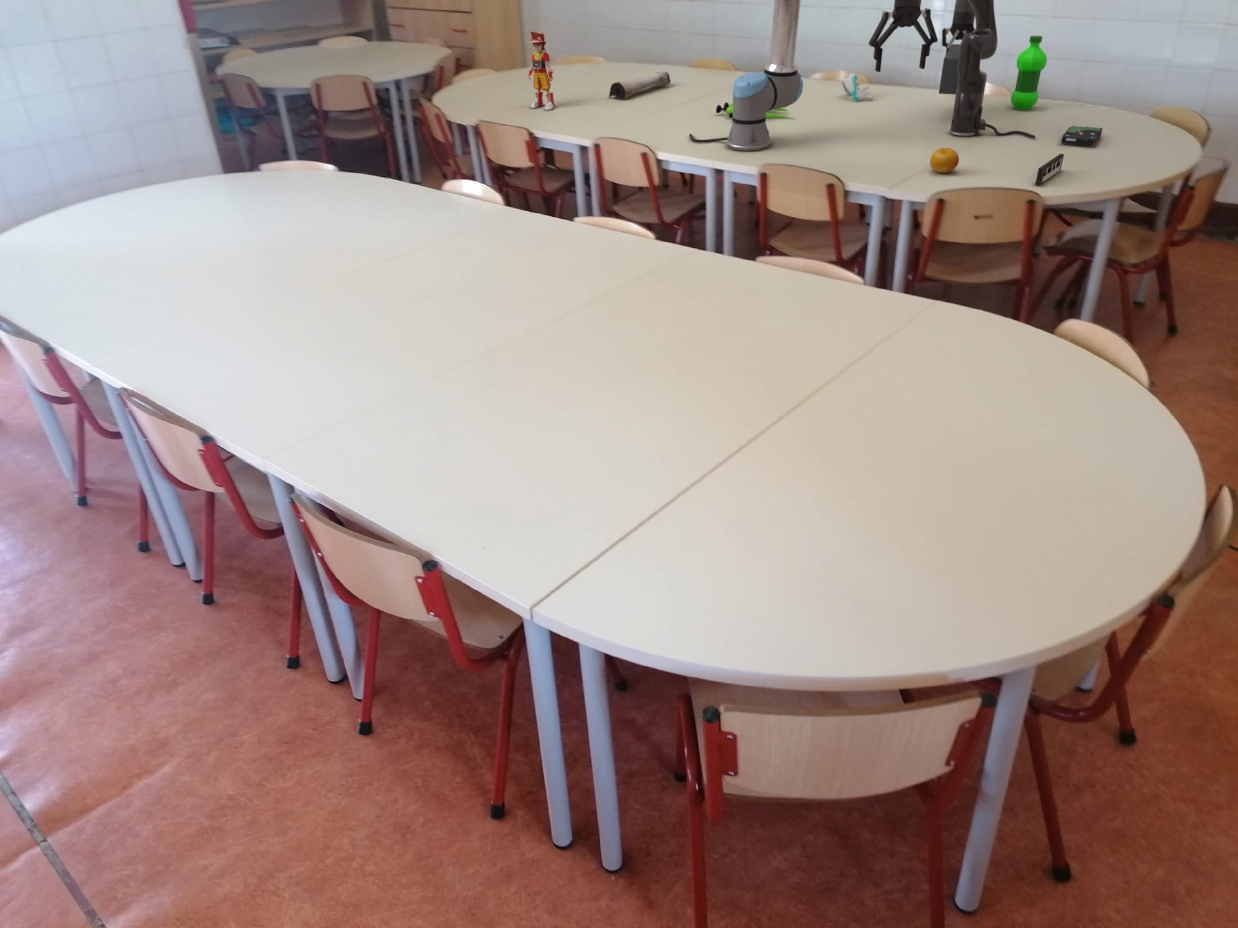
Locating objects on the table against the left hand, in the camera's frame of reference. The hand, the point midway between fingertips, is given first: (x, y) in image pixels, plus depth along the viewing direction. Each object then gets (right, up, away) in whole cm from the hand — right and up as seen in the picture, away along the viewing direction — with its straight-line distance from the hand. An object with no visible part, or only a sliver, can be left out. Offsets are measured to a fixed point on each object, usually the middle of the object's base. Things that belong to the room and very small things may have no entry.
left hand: (899, 70), depth 273 cm
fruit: (+17, -27, +12) cm, 34 cm away
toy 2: (-31, +18, +81) cm, 88 cm away
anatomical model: (+12, +31, +96) cm, 101 cm away
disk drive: (+71, -10, +31) cm, 79 cm away
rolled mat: (-76, +45, +124) cm, 152 cm away
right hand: (+41, +32, +63) cm, 82 cm away
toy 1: (-118, +32, +110) cm, 165 cm away
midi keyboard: (+46, -33, +2) cm, 56 cm away
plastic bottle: (+68, +15, +69) cm, 98 cm away
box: (+38, +21, +60) cm, 74 cm away
